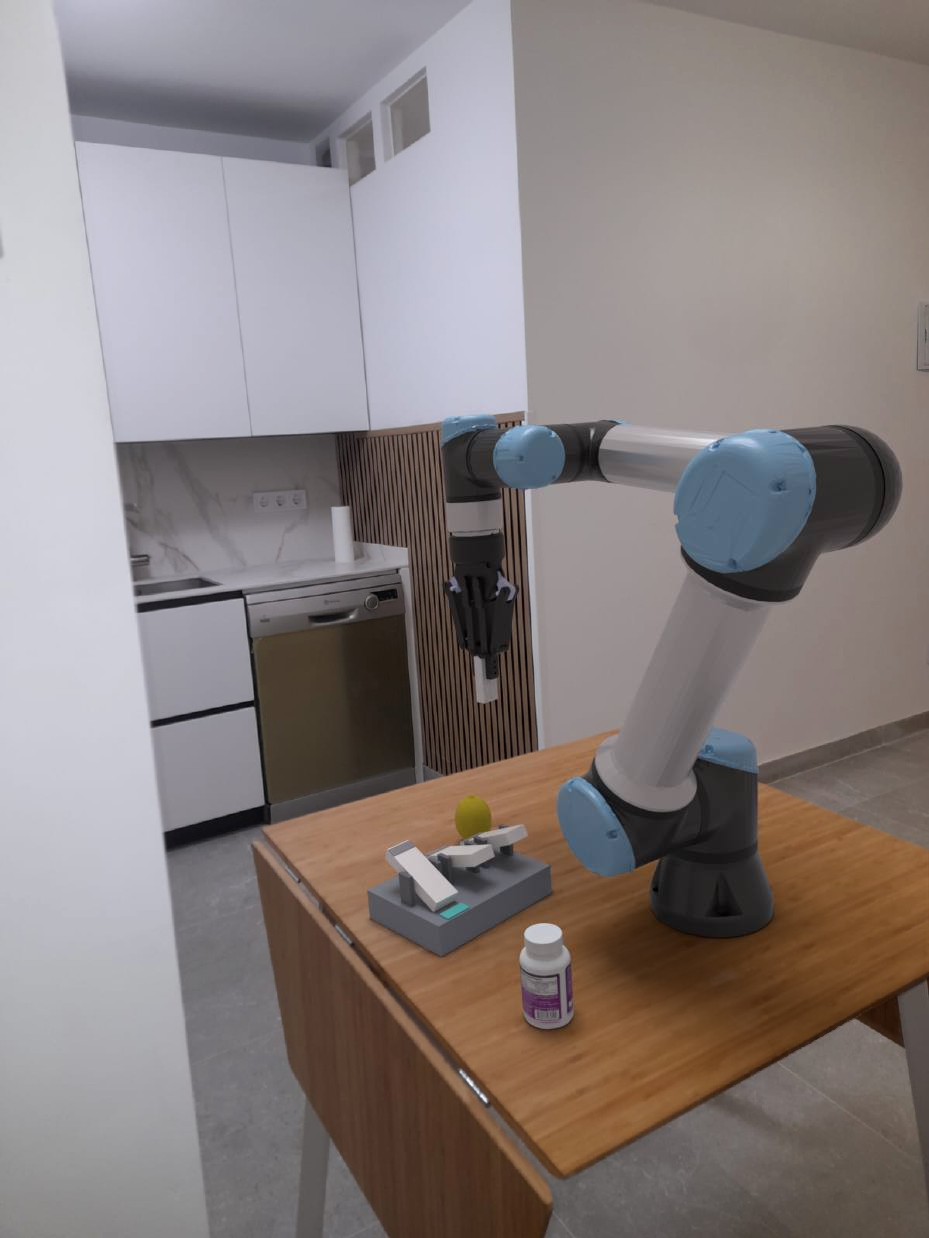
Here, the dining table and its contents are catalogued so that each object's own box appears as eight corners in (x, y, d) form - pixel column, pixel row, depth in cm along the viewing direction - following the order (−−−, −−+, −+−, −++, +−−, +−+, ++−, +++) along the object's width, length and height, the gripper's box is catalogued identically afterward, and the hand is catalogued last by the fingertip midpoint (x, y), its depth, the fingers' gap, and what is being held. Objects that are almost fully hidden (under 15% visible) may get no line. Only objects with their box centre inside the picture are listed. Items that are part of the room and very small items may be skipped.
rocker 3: (529, 834, 121) (524, 822, 121) (508, 845, 118) (503, 832, 118) (483, 844, 128) (479, 832, 128) (462, 854, 125) (458, 842, 126)
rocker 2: (495, 855, 116) (492, 843, 116) (473, 867, 114) (469, 854, 114) (447, 857, 124) (444, 845, 124) (425, 868, 121) (422, 855, 121)
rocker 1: (456, 899, 113) (459, 890, 113) (432, 912, 111) (435, 903, 110) (407, 847, 119) (409, 838, 118) (383, 858, 116) (385, 849, 116)
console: (552, 892, 122) (548, 837, 120) (441, 956, 108) (436, 895, 107) (479, 862, 132) (475, 811, 130) (369, 918, 119) (364, 861, 117)
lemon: (489, 852, 135) (486, 801, 133) (453, 851, 136) (449, 801, 135) (496, 836, 140) (492, 787, 139) (460, 835, 141) (457, 787, 140)
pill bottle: (546, 993, 100) (541, 913, 98) (584, 1013, 96) (579, 930, 94) (512, 1016, 96) (506, 934, 94) (550, 1038, 92) (545, 952, 91)
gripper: (530, 530, 120) (540, 701, 125) (463, 528, 130) (474, 687, 134) (490, 537, 115) (502, 714, 120) (423, 534, 125) (436, 699, 129)
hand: (487, 700), depth 127 cm, fingers closed
